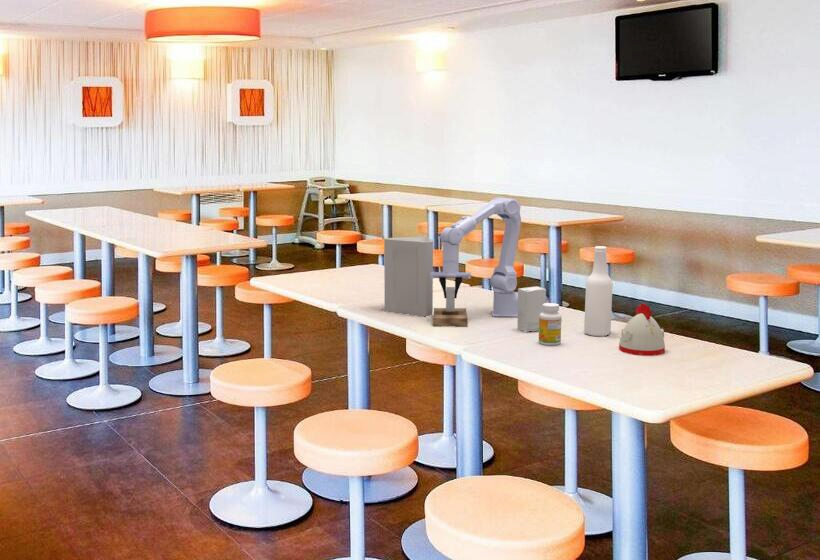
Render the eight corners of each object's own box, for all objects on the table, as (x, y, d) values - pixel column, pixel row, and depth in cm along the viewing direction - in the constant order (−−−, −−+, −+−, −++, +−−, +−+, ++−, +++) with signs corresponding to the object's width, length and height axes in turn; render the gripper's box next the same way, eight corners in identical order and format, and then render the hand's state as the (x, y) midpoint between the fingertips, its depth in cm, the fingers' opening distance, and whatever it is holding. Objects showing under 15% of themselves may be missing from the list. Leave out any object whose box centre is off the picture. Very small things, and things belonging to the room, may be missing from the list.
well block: (465, 316, 323) (465, 308, 323) (467, 326, 305) (467, 318, 305) (433, 315, 323) (433, 308, 323) (433, 326, 306) (433, 318, 305)
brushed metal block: (454, 308, 316) (454, 287, 315) (454, 311, 311) (454, 289, 310) (446, 308, 316) (446, 287, 315) (446, 311, 311) (446, 289, 310)
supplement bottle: (536, 340, 285) (537, 302, 283) (557, 340, 286) (558, 302, 284) (541, 345, 278) (542, 306, 276) (563, 345, 279) (564, 306, 276)
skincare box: (536, 327, 305) (537, 285, 303) (546, 330, 300) (547, 288, 297) (516, 329, 302) (517, 287, 299) (525, 332, 296) (526, 290, 294)
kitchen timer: (633, 357, 265) (635, 309, 262) (611, 346, 278) (613, 300, 275) (673, 354, 268) (675, 306, 266) (649, 343, 281) (651, 298, 279)
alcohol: (579, 332, 298) (582, 245, 293) (601, 330, 301) (604, 244, 296) (593, 337, 289) (596, 248, 284) (615, 335, 293) (619, 247, 288)
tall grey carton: (446, 310, 334) (446, 238, 329) (426, 317, 321) (427, 242, 317) (404, 305, 344) (404, 235, 339) (383, 311, 331) (383, 239, 326)
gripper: (430, 262, 307) (430, 299, 309) (471, 262, 306) (470, 300, 309) (430, 259, 314) (430, 296, 316) (470, 259, 313) (470, 296, 316)
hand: (450, 297), depth 313 cm, fingers closed on brushed metal block, 3 cm apart
